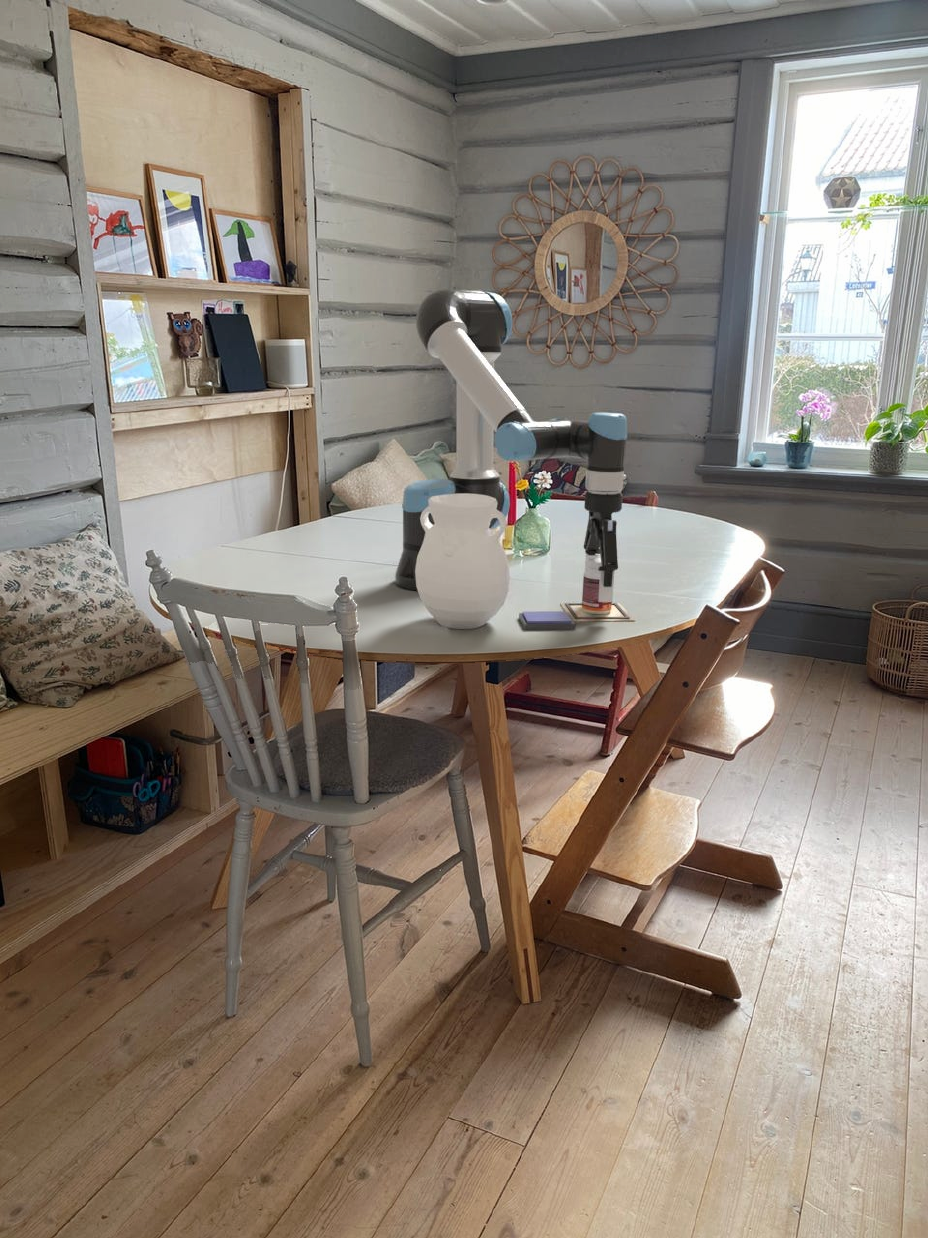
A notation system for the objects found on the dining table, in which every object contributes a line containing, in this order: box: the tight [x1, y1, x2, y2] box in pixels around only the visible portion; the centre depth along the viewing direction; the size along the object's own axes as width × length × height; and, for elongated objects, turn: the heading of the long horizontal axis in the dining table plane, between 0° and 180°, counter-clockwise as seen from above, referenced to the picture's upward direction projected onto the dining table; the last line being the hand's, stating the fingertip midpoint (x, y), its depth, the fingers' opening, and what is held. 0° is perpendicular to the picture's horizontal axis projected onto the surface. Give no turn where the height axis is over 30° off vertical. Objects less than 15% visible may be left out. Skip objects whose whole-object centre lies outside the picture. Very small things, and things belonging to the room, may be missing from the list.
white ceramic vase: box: [415, 493, 511, 630], centre depth 186 cm, size 19×18×25 cm
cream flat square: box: [559, 602, 636, 622], centre depth 199 cm, size 13×13×1 cm
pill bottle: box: [581, 557, 613, 614], centre depth 197 cm, size 6×6×11 cm
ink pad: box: [518, 610, 576, 631], centre depth 190 cm, size 10×8×2 cm
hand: (597, 593), depth 198 cm, fingers open, 13 cm apart
